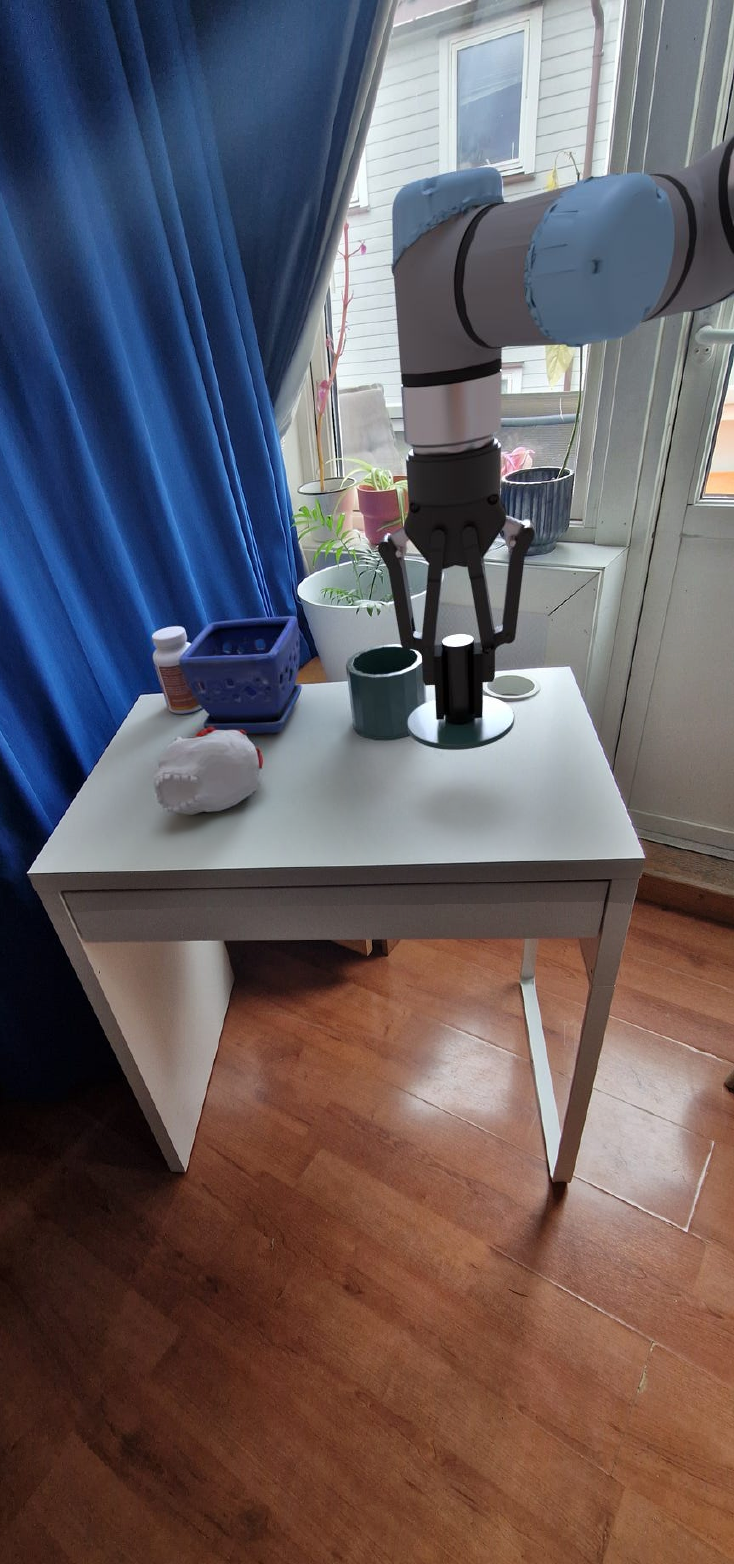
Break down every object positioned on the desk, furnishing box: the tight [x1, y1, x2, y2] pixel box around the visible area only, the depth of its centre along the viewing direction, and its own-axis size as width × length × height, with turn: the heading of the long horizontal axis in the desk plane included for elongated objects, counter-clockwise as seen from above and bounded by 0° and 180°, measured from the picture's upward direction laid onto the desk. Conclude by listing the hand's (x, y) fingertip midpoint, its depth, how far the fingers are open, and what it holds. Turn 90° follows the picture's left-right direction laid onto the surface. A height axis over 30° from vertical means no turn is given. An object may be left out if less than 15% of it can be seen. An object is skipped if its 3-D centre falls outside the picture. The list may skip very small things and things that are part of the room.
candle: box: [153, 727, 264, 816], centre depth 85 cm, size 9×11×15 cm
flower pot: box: [179, 615, 303, 734], centre depth 98 cm, size 13×13×12 cm
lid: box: [407, 633, 516, 751], centre depth 71 cm, size 11×11×9 cm
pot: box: [345, 643, 428, 741], centre depth 93 cm, size 10×10×8 cm
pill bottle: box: [151, 625, 203, 715], centre depth 105 cm, size 6×6×11 cm
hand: (459, 711), depth 73 cm, fingers closed on lid, 3 cm apart
